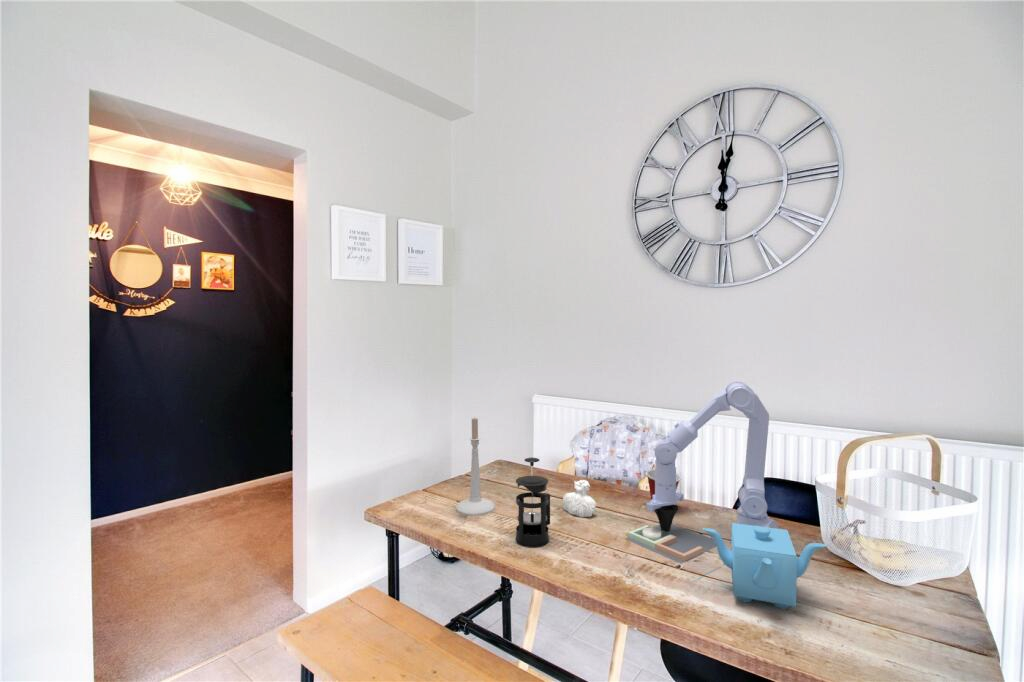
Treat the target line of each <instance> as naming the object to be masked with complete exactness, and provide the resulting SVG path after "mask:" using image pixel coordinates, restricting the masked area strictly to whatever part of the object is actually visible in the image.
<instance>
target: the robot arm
mask: <svg viewBox="0 0 1024 682" xmlns="http://www.w3.org/2000/svg"><path fill="white" fill-rule="evenodd" d="M730 406H731V407H732V408H734V409H736V410H738V411H740V412H742V414H743V415H745V417H746V418H747V419H748V426H747V427H748V428H747V429H748V430H747V440H746V452H745V454H746V455H745V462H744V463H745V464H744V475H743V478H742V483H741V486H740V487H739V489H738V491H737V497H738V499H739V502H740V506H739V507H738V508H737V512H736V513H737V516H736V517H737V518H736V523H737V524H745V525H753V526H761V527H768V528H776V529H779V526H778V525H779V524H778V522H777V521H776V520H775V519H773V518H770V517H769V515H768V513H767V511H768V503H767V501H766V499H765V493H766V492H765V471H766V461H767V460H766V457H767V450H768V449H767V445H768V438H769V437H768V436H769V425H770V423H769V422H770V414H769V411H768V410H767V409H766V407H765V405H764V403H763V402H762V401H761V399H760V397H759V396H758V394H756V393H755V391H754V390H753V389H752V388H751V387H749V386H748V385H747V384H746V383H744V382H742V381H733V382H731V383H729V384H728V385H727V386H726V388H722V390H720V391H719V392H718V393H716V394H715V395H714V396H713V397H712V398H711V399H709V401H707V403H706V404H705V405H704V406H703V407H702V408H701V409H700V410H699V411H698V412H697V413H695V415H694V416H693V417H692V418H691V419H690V420H687V421H684V420H683V421H681V422H676V423H675V424H674V428H673V429H672V430H671V431H670V432H669V433H668V434H667V435H663V436H662V440H659V441H658V442H656V443H657V444H656V445H655V448H654V456H655V466H654V470H655V495H652V498H653V499H652V500H651V499H650V500H649V501H648V502H646V503H645V504H646V511H648V512H651V513H653V512H654V513H655V514H656V516H657V519H658V523H659V525H660V527H661V530H663V531H665V532H668V531H670V528H671V524H673V521H674V518H675V516H676V513H677V512H678V511H679V506H678V505H676V504H677V503H678V502H679V501H680V502H682V501H683V502H684V499H685V497H684V493H681V492H679V491H678V492H677V490H676V474H677V467H676V459H677V457H678V453H682V452H683V451H684V449H686V448H687V447H688V446H689V445H691V444H692V443H693V441H695V440H696V439H697V438H698V436H699V433H698V432H699V430H700V429H701V428H702V427H704V425H705V424H707V423H708V422H709V421H710V420H711V419H713V418H714V417H715V416H716V415H718V413H720V412H726V411H732V408H731V407H730ZM730 544H731V545H732V541H730Z"/></svg>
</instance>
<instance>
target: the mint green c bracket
mask: <svg viewBox="0 0 1024 682" xmlns="http://www.w3.org/2000/svg"><path fill="white" fill-rule="evenodd" d="M645 528H651V527H650V525H647V524H646V525H642V526H641V527H638V528H636V529H633V530H631V531H628V533H627V535H628V536H627V537H629V538H631V539H634V540H636V541H638V542H640V543H643V544H645V545H647V546H650V547H652V548H654V549H655V543H657V542H660V541H662V540H664V539H667V538H669V537H671V536H673V535H668V536H665V537H663V538H661V539H658V540H656V541H652V540H650V539H648V538H645V537H643V536H641V534H643V529H645Z"/></svg>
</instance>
